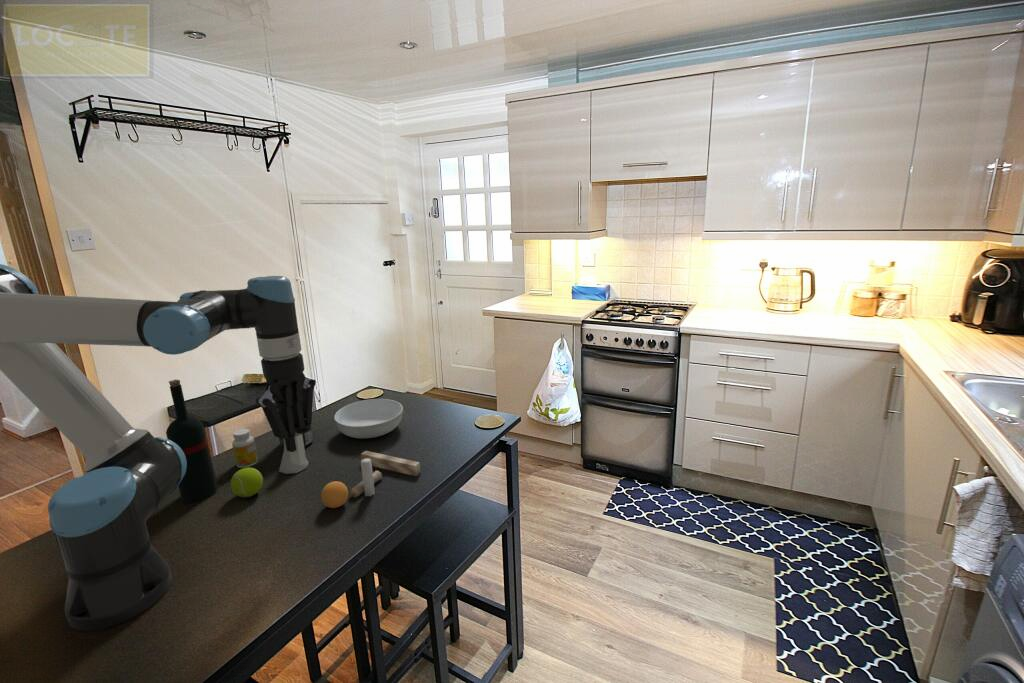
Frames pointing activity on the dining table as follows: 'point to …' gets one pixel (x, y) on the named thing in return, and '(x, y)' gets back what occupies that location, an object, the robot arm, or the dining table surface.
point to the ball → (334, 494)
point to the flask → (286, 463)
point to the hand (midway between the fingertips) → (299, 462)
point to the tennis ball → (246, 482)
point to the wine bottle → (191, 450)
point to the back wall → (392, 463)
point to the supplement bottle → (244, 448)
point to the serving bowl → (369, 418)
